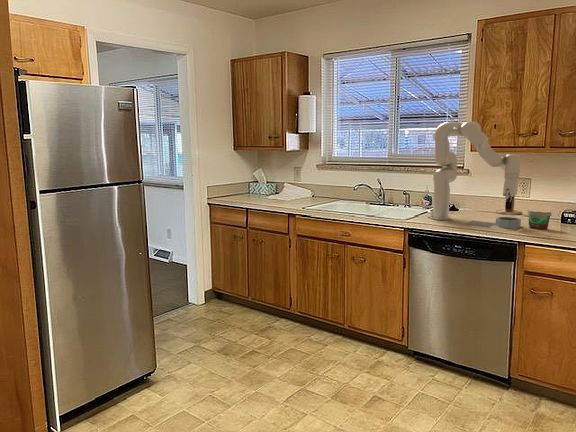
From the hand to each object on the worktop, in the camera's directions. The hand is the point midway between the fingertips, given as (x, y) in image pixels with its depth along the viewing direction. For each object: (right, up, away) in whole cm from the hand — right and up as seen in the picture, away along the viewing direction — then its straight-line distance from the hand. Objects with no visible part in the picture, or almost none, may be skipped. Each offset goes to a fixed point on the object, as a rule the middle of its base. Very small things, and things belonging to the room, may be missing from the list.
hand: (509, 208), depth 267 cm
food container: (+14, -12, -3) cm, 19 cm away
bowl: (0, -11, +2) cm, 11 cm away
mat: (-13, -10, +10) cm, 19 cm away
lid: (0, -3, 0) cm, 3 cm away
